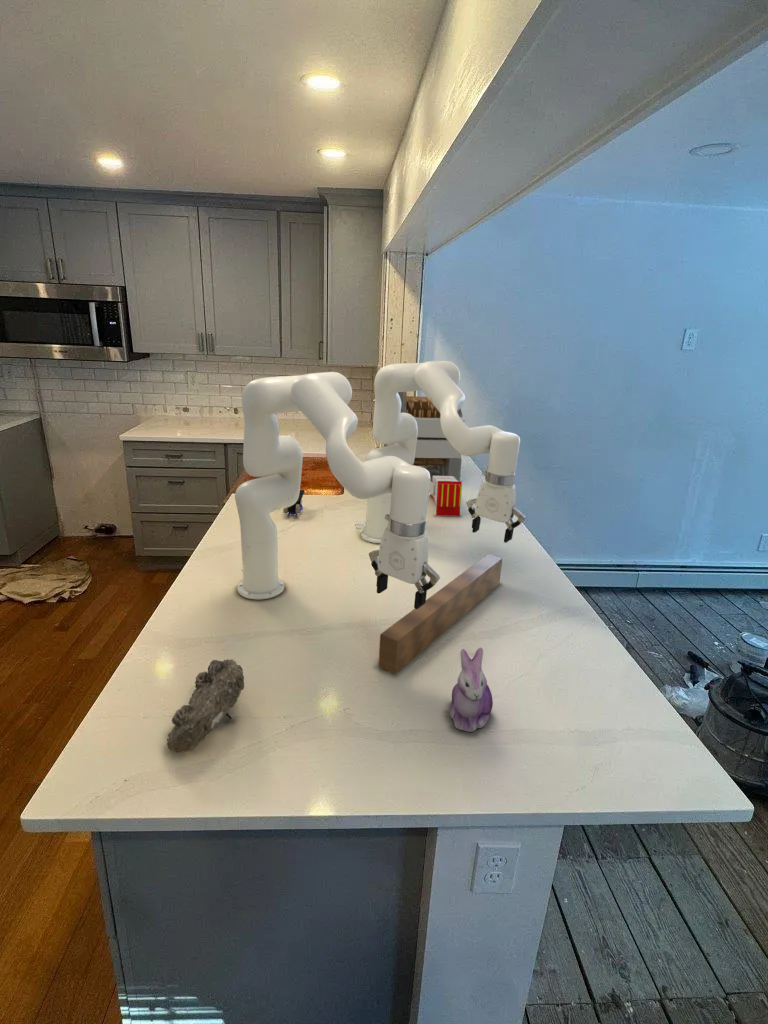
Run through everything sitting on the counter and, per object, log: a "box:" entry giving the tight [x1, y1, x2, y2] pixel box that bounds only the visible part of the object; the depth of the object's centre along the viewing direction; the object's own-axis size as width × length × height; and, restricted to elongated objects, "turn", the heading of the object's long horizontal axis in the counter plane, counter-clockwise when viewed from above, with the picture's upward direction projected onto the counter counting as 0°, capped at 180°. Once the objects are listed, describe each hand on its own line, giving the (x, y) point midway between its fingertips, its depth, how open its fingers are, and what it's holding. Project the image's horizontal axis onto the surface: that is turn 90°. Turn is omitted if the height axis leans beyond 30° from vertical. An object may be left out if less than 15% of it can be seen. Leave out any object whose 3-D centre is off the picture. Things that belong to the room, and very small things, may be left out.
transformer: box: [383, 392, 465, 482], centre depth 268 cm, size 34×33×41 cm
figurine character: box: [282, 489, 305, 518], centre depth 214 cm, size 7×8×15 cm
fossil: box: [166, 658, 245, 754], centre depth 106 cm, size 22×10×15 cm
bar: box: [378, 553, 503, 675], centre depth 144 cm, size 55×4×8 cm, turn 145°
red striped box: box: [429, 475, 463, 517], centre depth 230 cm, size 12×13×30 cm
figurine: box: [449, 647, 494, 733], centre depth 108 cm, size 9×10×15 cm
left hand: (400, 598), depth 123 cm, fingers open, 9 cm apart
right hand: (491, 536), depth 159 cm, fingers open, 9 cm apart
